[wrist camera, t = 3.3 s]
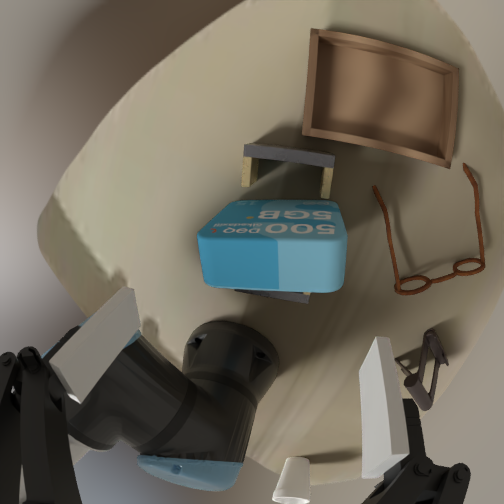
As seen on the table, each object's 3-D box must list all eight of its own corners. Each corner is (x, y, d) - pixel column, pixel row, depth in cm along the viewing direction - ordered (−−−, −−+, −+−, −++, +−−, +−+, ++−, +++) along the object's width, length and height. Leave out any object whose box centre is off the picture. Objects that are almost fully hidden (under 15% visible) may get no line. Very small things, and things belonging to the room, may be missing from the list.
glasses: (390, 283, 32) (399, 305, 28) (370, 185, 28) (380, 195, 24) (473, 256, 28) (490, 274, 24) (464, 161, 24) (485, 167, 19)
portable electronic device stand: (446, 356, 35) (460, 393, 27) (407, 378, 38) (415, 416, 31) (432, 326, 33) (449, 365, 26) (389, 351, 36) (397, 393, 29)
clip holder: (242, 274, 36) (234, 290, 32) (252, 142, 29) (244, 144, 25) (309, 285, 34) (307, 303, 31) (332, 153, 27) (335, 156, 24)
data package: (336, 199, 29) (350, 240, 19) (335, 237, 31) (345, 294, 20) (231, 199, 32) (189, 237, 21) (235, 236, 34) (198, 287, 23)
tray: (302, 134, 27) (301, 134, 24) (311, 37, 22) (310, 28, 19) (438, 165, 25) (450, 169, 22) (447, 72, 20) (458, 68, 17)
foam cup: (322, 461, 56) (317, 501, 44) (297, 468, 60) (290, 505, 48) (297, 451, 55) (290, 495, 43) (273, 458, 59) (264, 498, 47)
